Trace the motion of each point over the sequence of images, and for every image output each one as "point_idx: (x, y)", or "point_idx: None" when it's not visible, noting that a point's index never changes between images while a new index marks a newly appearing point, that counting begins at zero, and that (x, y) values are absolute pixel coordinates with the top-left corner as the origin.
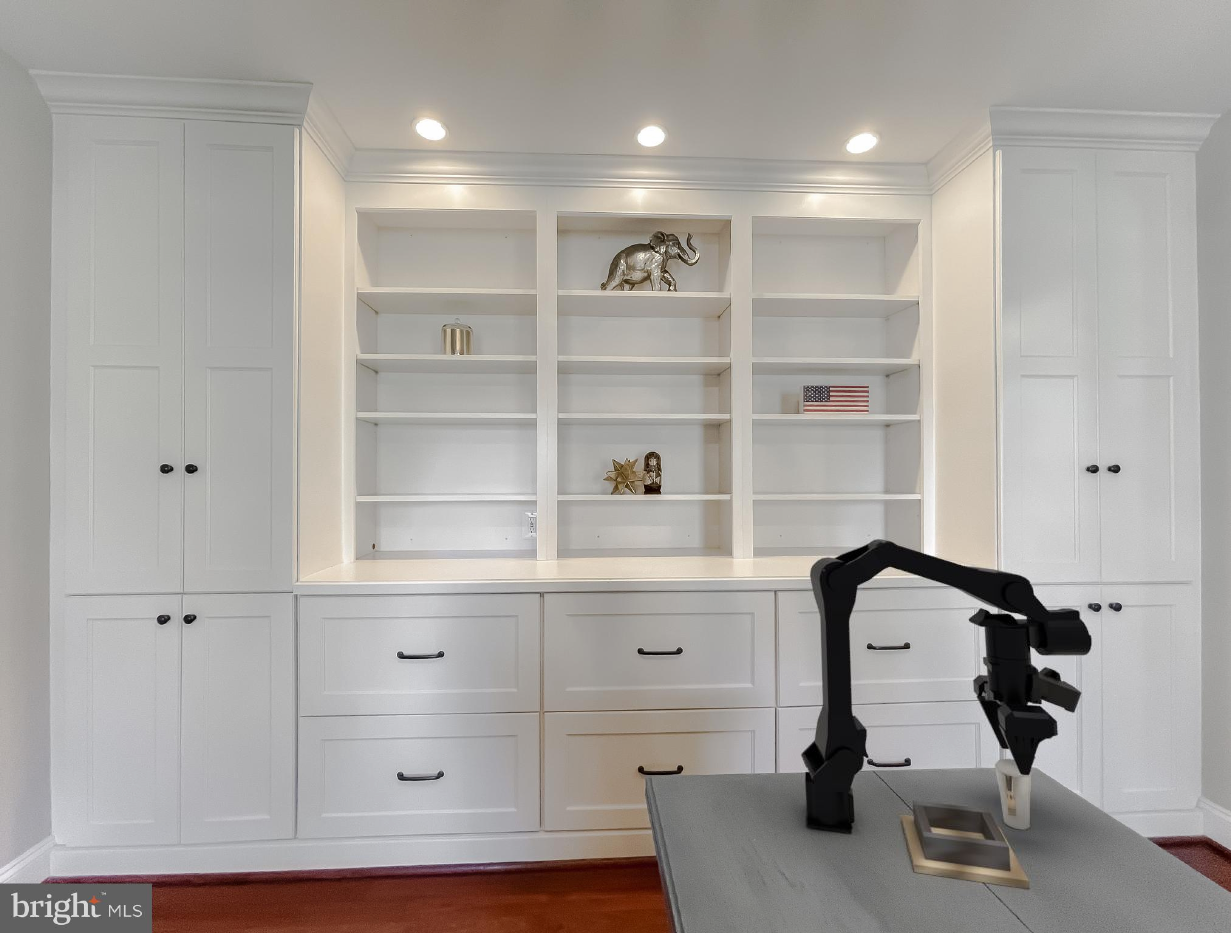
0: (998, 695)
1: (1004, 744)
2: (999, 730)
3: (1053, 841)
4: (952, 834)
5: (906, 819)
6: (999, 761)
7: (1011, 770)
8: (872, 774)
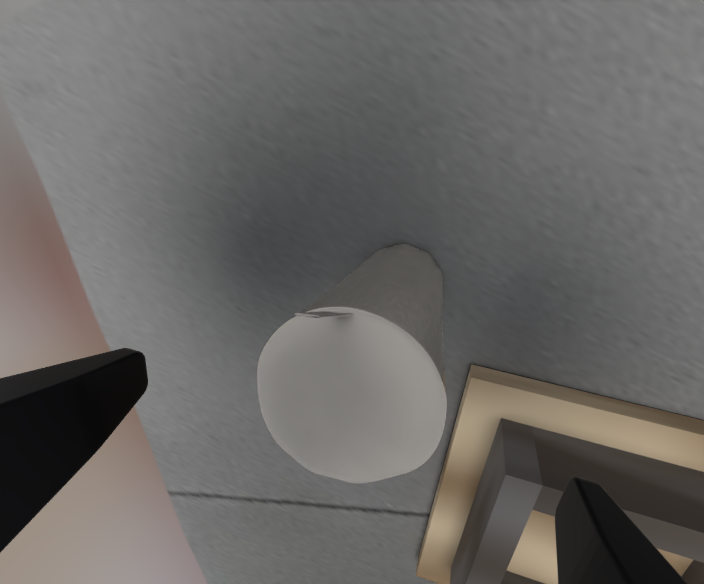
0: None
1: (122, 390)
2: (26, 483)
3: (521, 211)
4: (528, 523)
5: (443, 578)
6: (319, 474)
7: (421, 462)
8: (184, 502)
